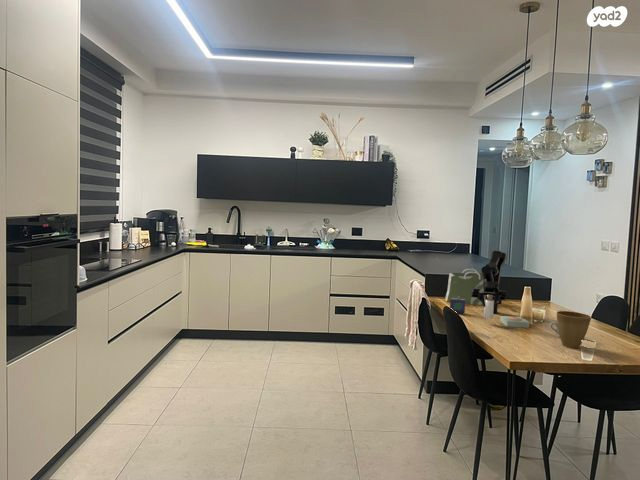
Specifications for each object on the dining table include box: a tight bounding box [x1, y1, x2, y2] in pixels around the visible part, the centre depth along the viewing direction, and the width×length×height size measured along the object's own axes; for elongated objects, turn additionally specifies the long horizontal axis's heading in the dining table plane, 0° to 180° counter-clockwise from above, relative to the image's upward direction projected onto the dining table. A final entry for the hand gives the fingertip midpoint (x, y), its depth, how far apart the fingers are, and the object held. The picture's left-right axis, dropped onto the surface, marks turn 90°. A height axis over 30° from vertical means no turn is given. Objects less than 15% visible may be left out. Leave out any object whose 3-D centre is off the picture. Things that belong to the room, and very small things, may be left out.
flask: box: [449, 296, 466, 315], centre depth 283 cm, size 9×3×11 cm, turn 88°
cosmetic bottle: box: [483, 294, 494, 320], centre depth 260 cm, size 5×5×13 cm
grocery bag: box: [444, 268, 486, 306], centre depth 317 cm, size 32×14×23 cm, turn 79°
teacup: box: [549, 321, 560, 337], centre depth 241 cm, size 14×11×8 cm
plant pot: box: [556, 310, 592, 349], centre depth 225 cm, size 15×15×16 cm
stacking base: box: [499, 315, 531, 329], centre depth 263 cm, size 12×12×3 cm
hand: (489, 306), depth 259 cm, fingers closed on cosmetic bottle, 5 cm apart
